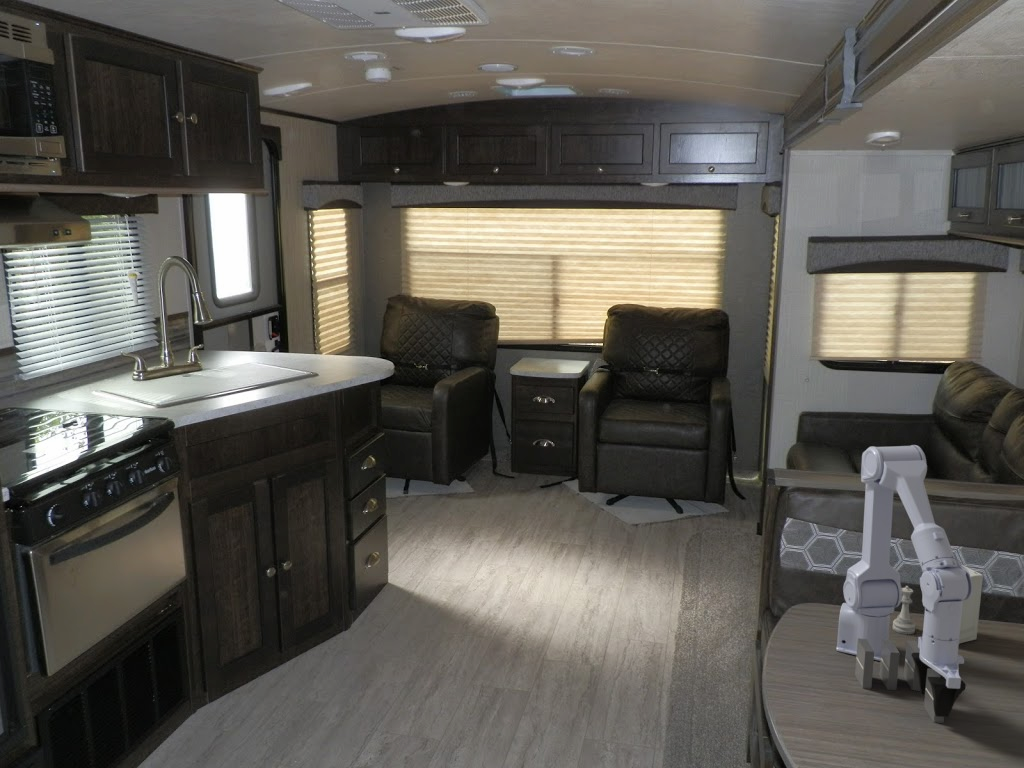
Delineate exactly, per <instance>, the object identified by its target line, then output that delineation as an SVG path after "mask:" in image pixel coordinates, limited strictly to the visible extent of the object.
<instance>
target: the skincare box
mask: <svg viewBox="0 0 1024 768" xmlns="http://www.w3.org/2000/svg"><path fill="white" fill-rule="evenodd" d="M962 566H963V567H965V568H966V569H967V570H968V572H969V574H970V577H971V581H972V594H971V596H970V597H969V598H968V599H967V600H961V601H963V606H962V616H961V626H960V636H959V645H960V644H963V643H967V642H971V641H974V640H977V636H978V628H979V617H980V606H981V599H982V598H981V596H982V590H983V589H982V588H983V586H982V585H983V579H984V575H983V574H982V573H980V572H978V571H976V570H974V569H972V568H969V567H968V566H965V565H963V564H962Z"/></svg>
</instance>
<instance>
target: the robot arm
mask: <svg viewBox="0 0 1024 768" xmlns="http://www.w3.org/2000/svg"><path fill="white" fill-rule="evenodd" d="M926 458H927V457H926V454H925V452H924V451H923V449H922V448H921V447H920V446H919V445H916V444H911V445H900V446H899V445H897V446H874V445H873V446H869V447H868V448H866V450H864V451H863V452H862V455H861V468H860V469H861V470H860V480H861V483H863V484H865V491H864V492H865V493H864V495H865V496H864V510H863V511H864V512H863V527H862V528H863V532H862V547H861V560H859V561H858V562H856V563H855V564H853V565H851V566H850V567H849V568H847V571H846V577H845V581H844V583H843V587H842V590H843V597H844V601H845V602H843V603H842V604H841V607H840V611H839V615H838V617H839V618H838V627H837V628H838V630H837V639H836V640H837V643H836V647H835V648H836V649H835V650H836V651H837V652H840V653H845V654H850V655H854V656H856V655H857V642H858V639H867V641H868V642H869V644H870V646H871V647H872V649H873V650H874V661H879V662H880V661H881V649H882V640H889V637H890V636H889V634H890V625H891V623H890V622H891V613H895V608H898V607H899V606H900V605H901V603H902V602H901V600H902V596H903V593H902V588H903V587H902V584H901V574H900V573H899V571H898V570H897V569H896V568H895V567H893V566H891V564H890V557H891V541H892V523H893V522H892V521H893V507H894V504H893V503H894V494H895V493H894V492H897V494H898V496H899V498H900V500H901V503H902V505H903V506H904V509H905V511H906V513H907V516H908V517H909V520H910V521H911V524H912V526H913V531H912V533H911V535H910V540H911V543H912V545H913V547H914V551H915V553H916V557H917V560H918V563H919V565H920V568H921V571H922V574H921V576H920V577H919V585H920V589H921V594H922V599H921V602H922V605H923V607H924V613H923V614H924V615H923V617H924V618H923V626H922V627H923V629H922V636H918V639H917V640H918V641H917V644H918V647H919V649H920V653H912V658H913V660H914V662H915V665H916V669H917V673H918V678H919V685H920V691H919V692H920V694H921V695H922V696H925V687H926V677H927V668H930V669H933V670H935V671H936V672H938V673H939V674H940V677H928V680H929V682H930V685H931V688H932V692H933V705H934V712H935V715H936V716H939V717H944V718H945V717H946V718H949V716H950V715H951V712H952V710H953V708H954V707H953V706H954V704H955V702H956V701H957V699H958V698H959V696H960V695H961V694H962V693H963V692H964V691H966V687H967V685H966V683H965V681H963V680H962V678H961V676H960V672H959V669H960V668H959V666H960V665H961V664H962V665H963V664H965V659H964V657H963V656H962V655H960V654H959V645H960V644H959V636H960V626H961V616H962V606H963V601H961V600H967V599H968V598H969V597H970V596H971V594H972V581H971V577H970V574H969V572H968V570H967V569H966V568H965V567H963V566H962V565H963V564H962V563H961V561H960V560H957V559H956V557H955V555H954V552H953V550H952V546H951V543H950V541H949V539H948V535H947V533H946V531H945V528H943V527H942V526H939V525H938V524H936V523H935V522H936V521H935V519H934V515H933V512H932V508H931V505H930V499H929V496H928V493H927V489H926V486H925V481H924V480H925V478H926V476H927V471H928V465H927V459H926Z"/></svg>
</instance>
